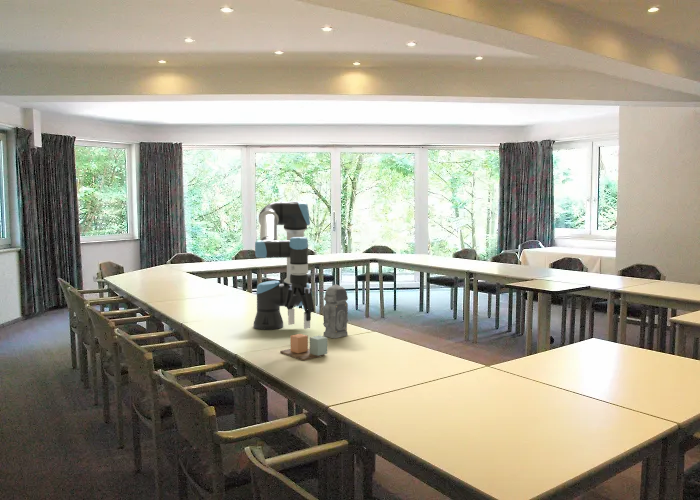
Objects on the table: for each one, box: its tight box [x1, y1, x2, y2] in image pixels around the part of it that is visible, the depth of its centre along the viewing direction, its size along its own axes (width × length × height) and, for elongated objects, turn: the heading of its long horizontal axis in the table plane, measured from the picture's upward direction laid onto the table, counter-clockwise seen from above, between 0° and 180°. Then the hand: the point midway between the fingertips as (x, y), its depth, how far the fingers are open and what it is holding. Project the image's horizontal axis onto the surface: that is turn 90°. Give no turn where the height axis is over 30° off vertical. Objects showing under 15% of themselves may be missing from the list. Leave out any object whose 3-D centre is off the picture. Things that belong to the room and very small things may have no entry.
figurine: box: [322, 283, 349, 339], centre depth 267 cm, size 10×14×25 cm
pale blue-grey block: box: [309, 335, 328, 356], centre depth 232 cm, size 5×5×7 cm
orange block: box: [289, 333, 309, 353], centre depth 235 cm, size 5×5×7 cm
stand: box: [279, 348, 325, 362], centre depth 234 cm, size 16×11×1 cm
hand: (299, 326), depth 235 cm, fingers open, 10 cm apart
